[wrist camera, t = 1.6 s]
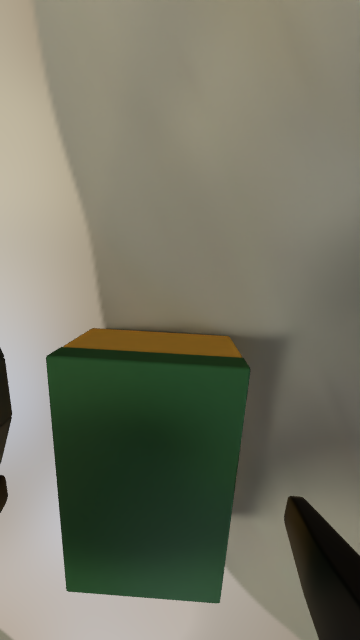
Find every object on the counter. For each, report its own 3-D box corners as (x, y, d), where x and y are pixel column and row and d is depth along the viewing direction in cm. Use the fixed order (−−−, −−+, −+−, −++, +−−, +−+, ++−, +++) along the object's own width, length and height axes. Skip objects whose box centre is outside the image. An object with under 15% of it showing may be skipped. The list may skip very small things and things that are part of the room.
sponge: (210, 513, 11) (220, 604, 8) (98, 505, 11) (65, 592, 8) (229, 335, 9) (251, 368, 6) (91, 327, 9) (44, 355, 6)
